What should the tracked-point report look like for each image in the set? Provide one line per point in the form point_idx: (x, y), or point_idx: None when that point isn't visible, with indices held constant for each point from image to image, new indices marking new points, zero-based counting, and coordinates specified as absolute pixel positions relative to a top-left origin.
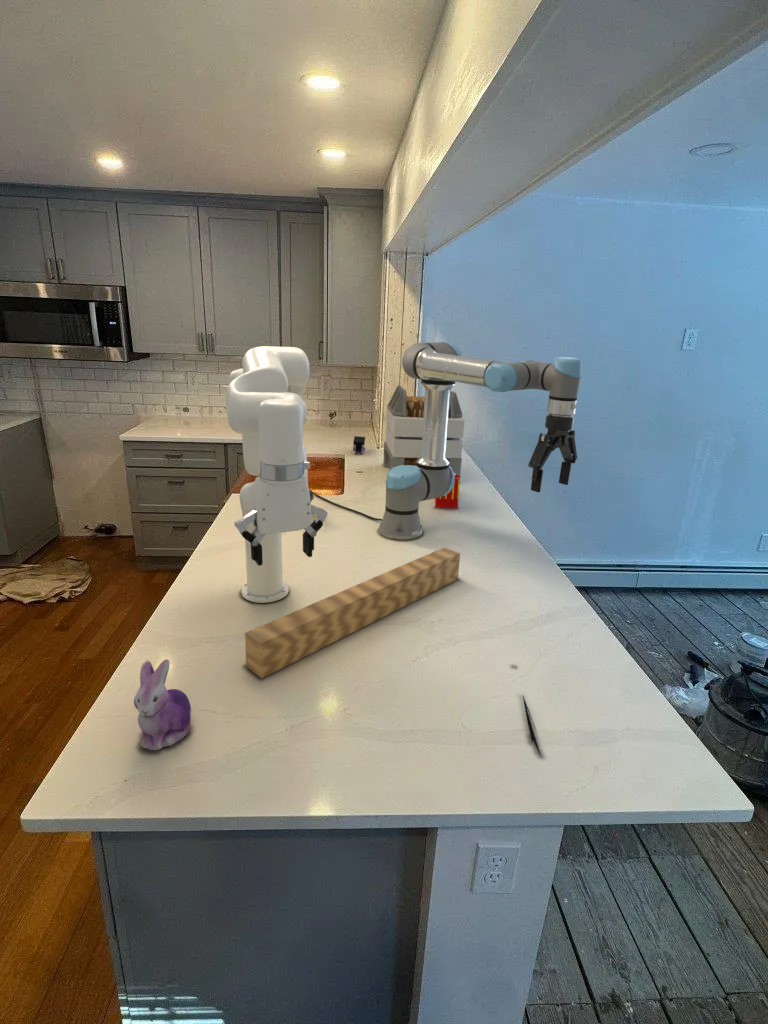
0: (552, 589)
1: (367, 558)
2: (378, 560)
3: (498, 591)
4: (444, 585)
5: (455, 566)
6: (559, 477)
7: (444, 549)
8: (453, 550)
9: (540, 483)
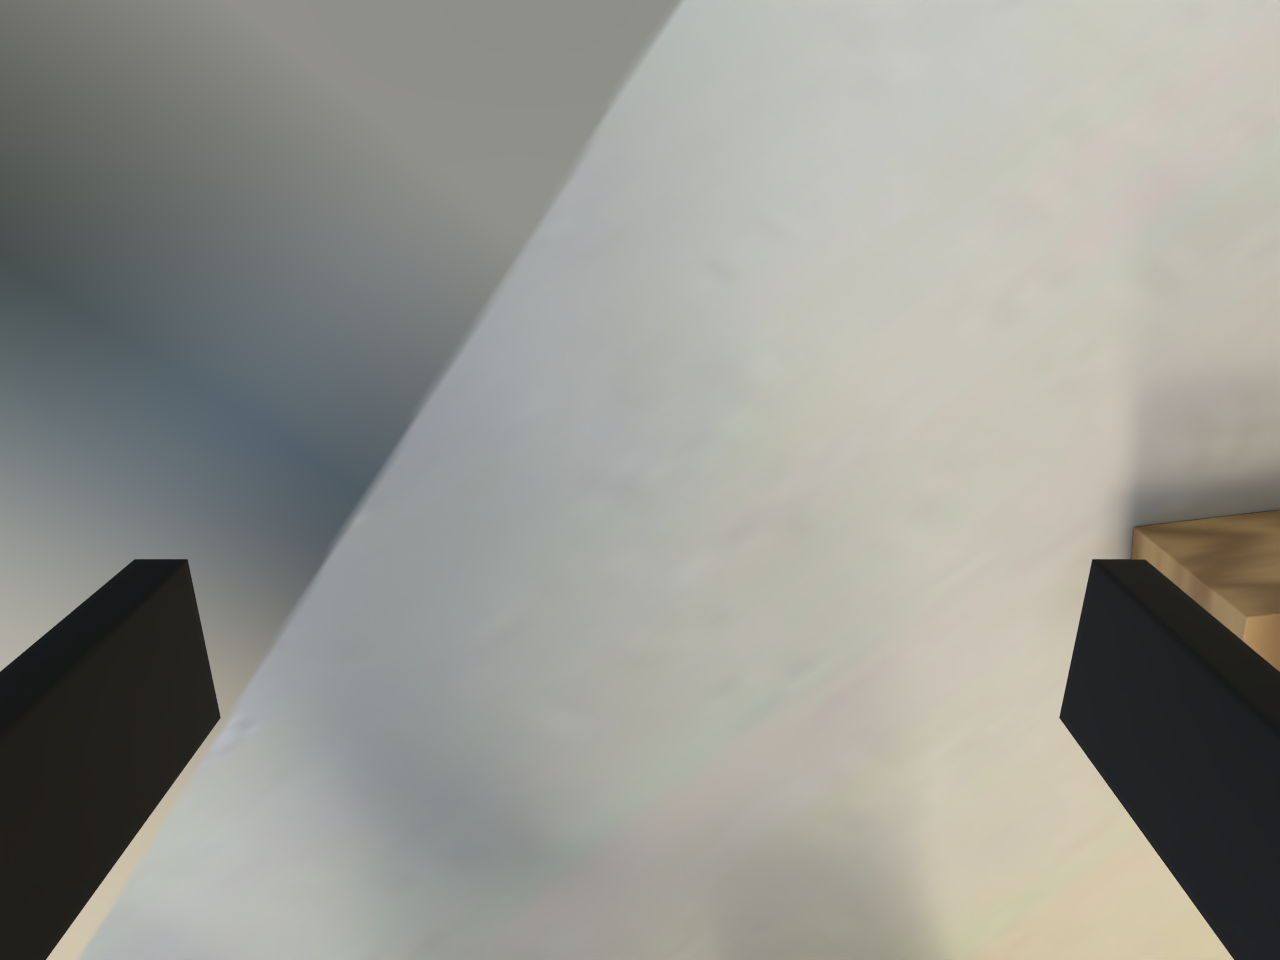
0: (776, 65)
1: None
2: None
3: (1092, 274)
4: (1274, 512)
5: (1234, 567)
6: (164, 793)
7: None
8: None
9: (1234, 660)
